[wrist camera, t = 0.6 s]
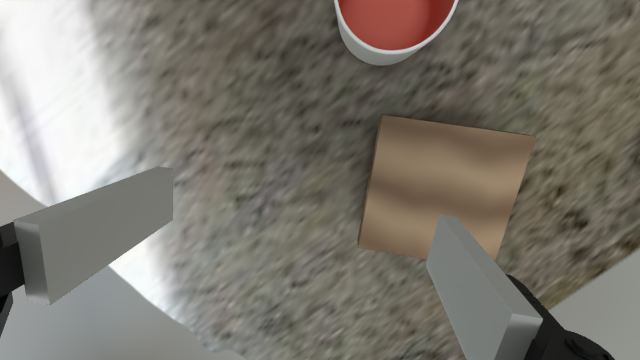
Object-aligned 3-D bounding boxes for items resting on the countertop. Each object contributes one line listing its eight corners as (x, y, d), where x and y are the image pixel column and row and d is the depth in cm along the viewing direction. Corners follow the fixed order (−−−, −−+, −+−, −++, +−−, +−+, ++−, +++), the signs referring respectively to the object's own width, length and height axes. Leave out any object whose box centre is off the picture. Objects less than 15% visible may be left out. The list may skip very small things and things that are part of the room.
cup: (438, -30, 31) (476, -86, 22) (420, 70, 34) (447, 59, 25) (343, -36, 32) (340, -94, 23) (333, 62, 35) (327, 49, 25)
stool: (376, 111, 36) (382, 115, 28) (495, 128, 35) (536, 136, 27) (356, 219, 40) (358, 247, 32) (464, 236, 39) (492, 270, 31)
